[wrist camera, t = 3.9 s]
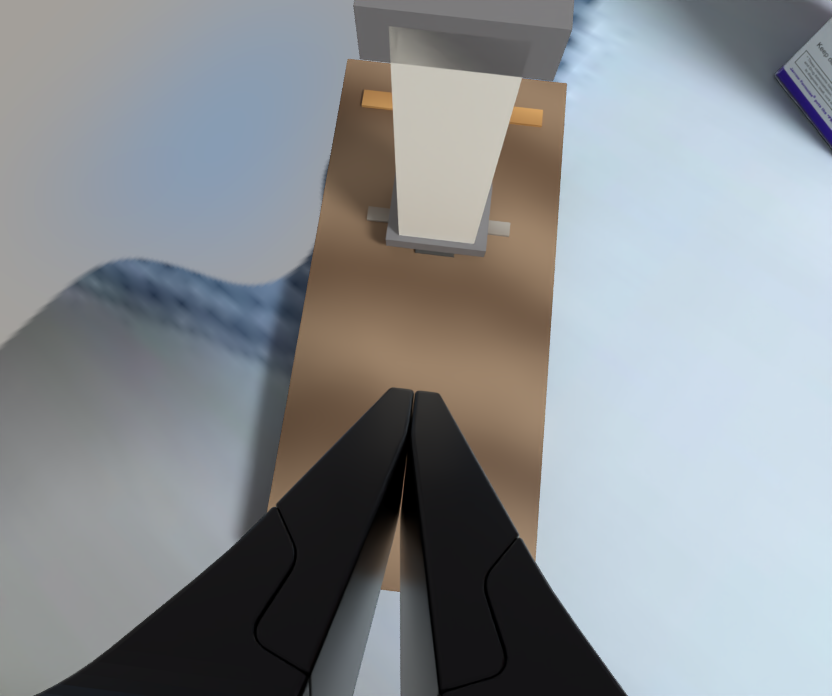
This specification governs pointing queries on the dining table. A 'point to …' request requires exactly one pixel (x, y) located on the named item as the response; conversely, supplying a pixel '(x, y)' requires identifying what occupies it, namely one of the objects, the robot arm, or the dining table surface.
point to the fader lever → (455, 104)
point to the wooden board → (430, 302)
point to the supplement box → (812, 80)
